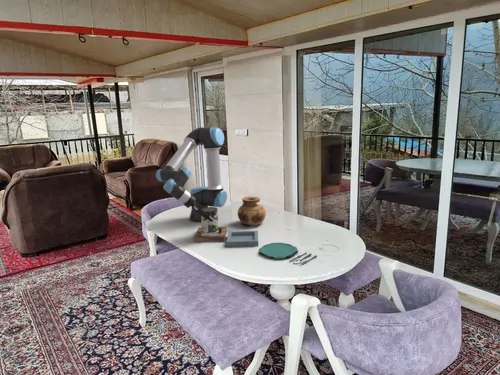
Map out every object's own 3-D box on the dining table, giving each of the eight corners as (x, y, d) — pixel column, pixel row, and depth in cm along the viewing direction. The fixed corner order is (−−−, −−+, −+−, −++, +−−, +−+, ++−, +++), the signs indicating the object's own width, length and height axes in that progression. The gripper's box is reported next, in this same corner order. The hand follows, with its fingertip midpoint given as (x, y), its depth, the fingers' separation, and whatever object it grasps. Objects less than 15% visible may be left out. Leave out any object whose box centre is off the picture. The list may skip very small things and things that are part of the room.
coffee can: (220, 228, 231) (219, 206, 227) (216, 234, 221) (214, 211, 217) (205, 228, 233) (203, 206, 229) (199, 233, 223) (198, 211, 220)
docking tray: (228, 235, 227) (228, 231, 227) (258, 235, 227) (257, 230, 226) (226, 246, 210) (226, 241, 209) (258, 246, 209) (258, 241, 209)
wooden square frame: (198, 231, 237) (198, 227, 236) (226, 231, 236) (226, 226, 236) (194, 242, 219) (193, 237, 218) (224, 241, 219) (224, 236, 218)
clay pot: (274, 218, 248) (265, 194, 240) (254, 234, 240) (244, 209, 231) (256, 212, 263) (247, 189, 255) (237, 227, 255) (227, 203, 246)
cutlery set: (276, 243, 213) (276, 239, 213) (320, 257, 193) (320, 253, 192) (252, 254, 200) (252, 250, 199) (296, 270, 179) (296, 266, 179)
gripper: (181, 199, 229) (208, 220, 237) (184, 209, 208) (213, 232, 215) (189, 190, 229) (215, 211, 237) (192, 199, 208) (222, 222, 215)
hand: (214, 221), depth 226 cm, fingers closed on coffee can, 10 cm apart
